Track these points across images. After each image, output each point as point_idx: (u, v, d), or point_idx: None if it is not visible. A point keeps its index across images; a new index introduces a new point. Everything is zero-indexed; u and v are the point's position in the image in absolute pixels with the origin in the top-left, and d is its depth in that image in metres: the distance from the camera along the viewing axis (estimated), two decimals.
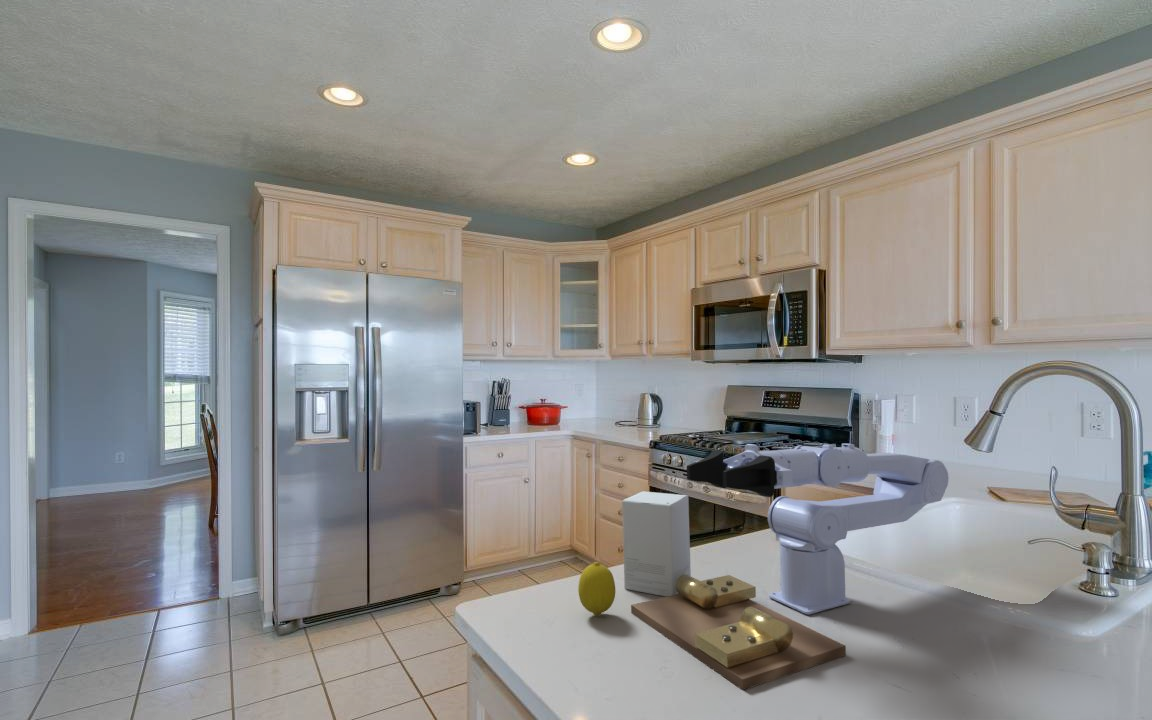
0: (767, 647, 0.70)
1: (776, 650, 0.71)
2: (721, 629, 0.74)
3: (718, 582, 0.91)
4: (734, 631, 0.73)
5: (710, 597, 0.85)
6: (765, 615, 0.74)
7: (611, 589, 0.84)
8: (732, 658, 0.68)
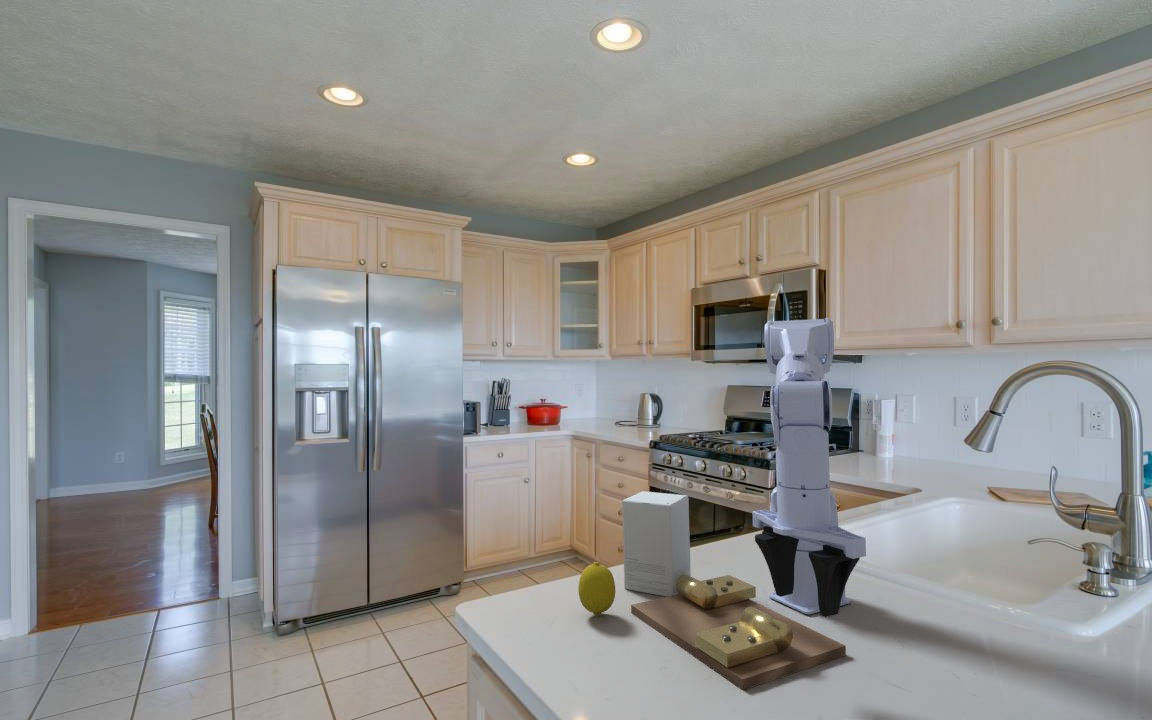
0: (767, 647, 0.70)
1: (776, 650, 0.71)
2: (721, 629, 0.74)
3: (718, 582, 0.91)
4: (734, 631, 0.73)
5: (710, 597, 0.85)
6: (765, 615, 0.74)
7: (611, 589, 0.84)
8: (732, 658, 0.68)
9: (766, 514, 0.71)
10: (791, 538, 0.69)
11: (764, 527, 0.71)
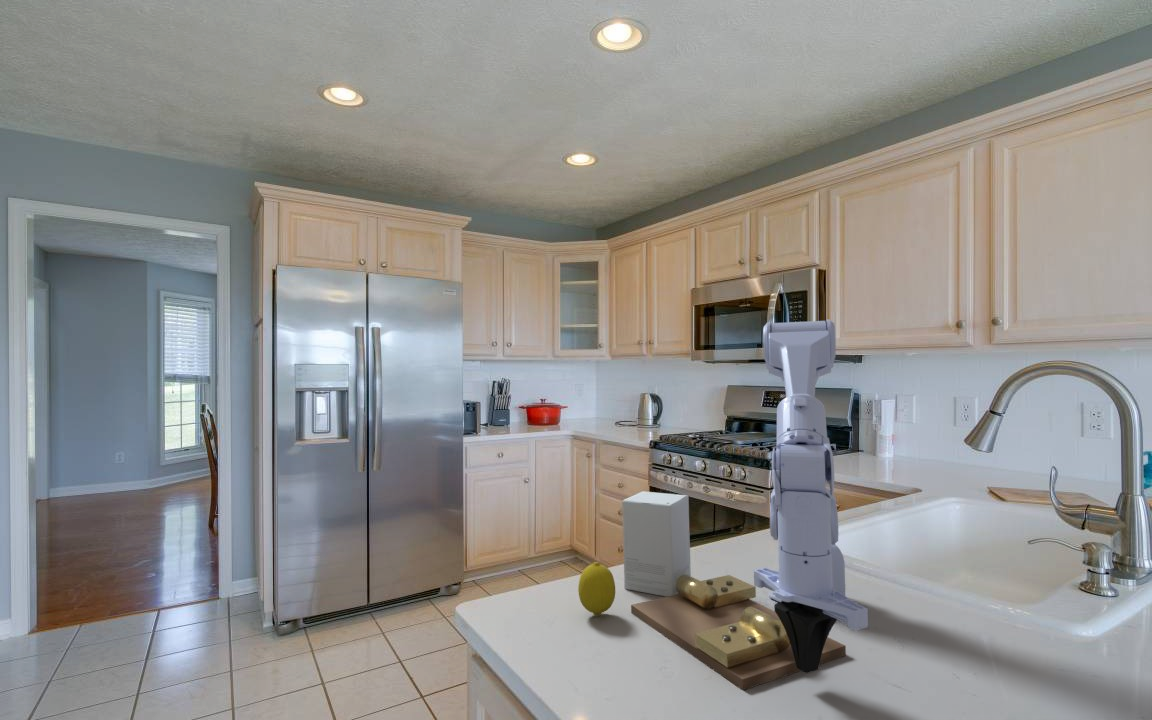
0: (767, 647, 0.70)
1: (776, 650, 0.71)
2: (721, 629, 0.74)
3: (718, 582, 0.91)
4: (734, 631, 0.73)
5: (710, 597, 0.85)
6: (765, 615, 0.74)
7: (611, 589, 0.84)
8: (732, 658, 0.68)
9: (767, 574, 0.71)
10: None
11: (766, 587, 0.70)
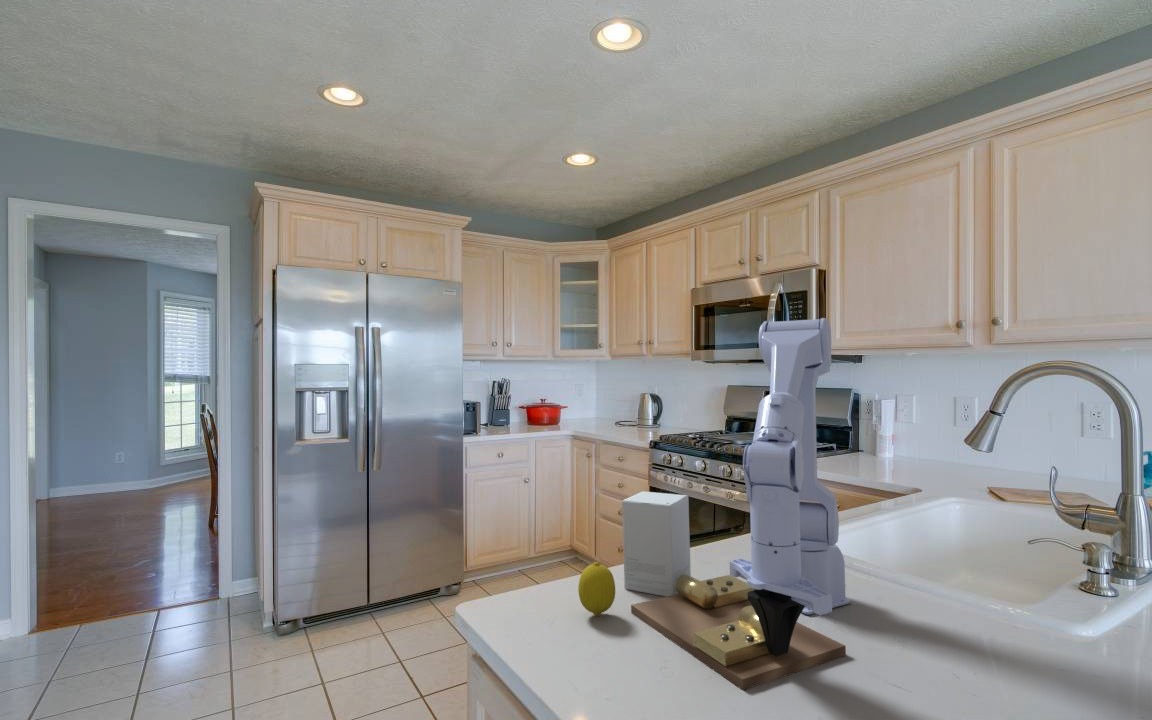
0: (765, 646, 0.71)
1: None
2: (719, 628, 0.74)
3: (718, 582, 0.91)
4: (733, 630, 0.74)
5: (710, 597, 0.85)
6: None
7: (611, 589, 0.84)
8: (730, 657, 0.68)
9: (742, 564, 0.75)
10: None
11: None
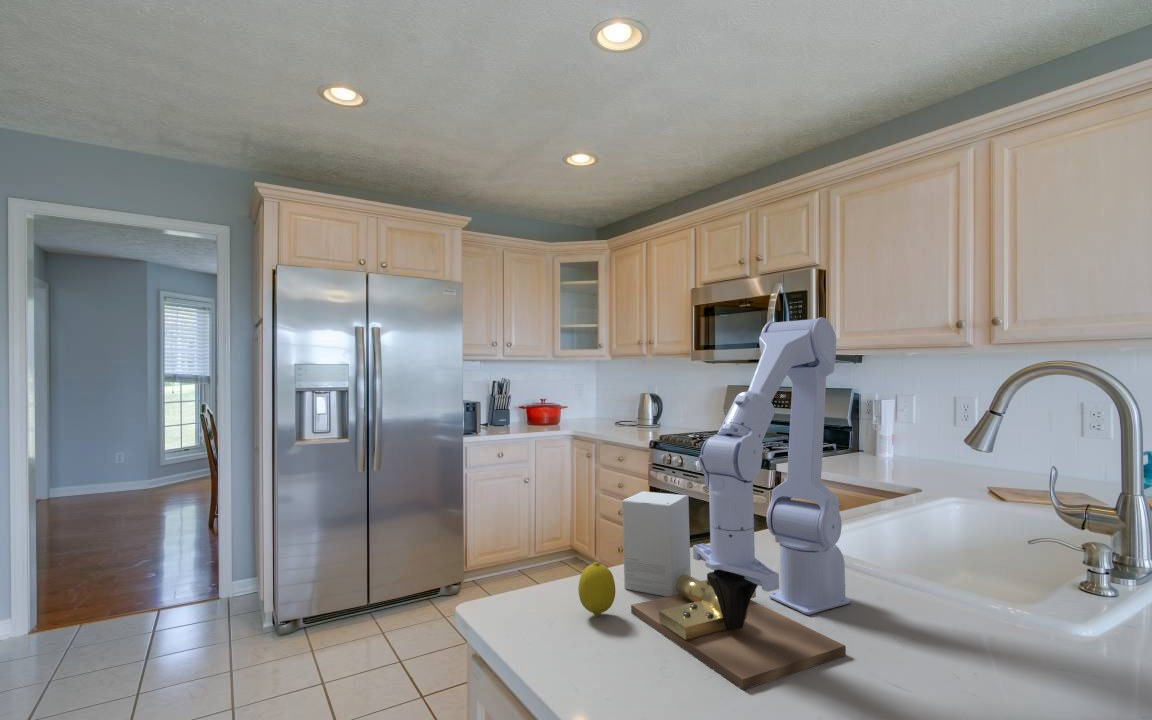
0: (723, 622, 0.78)
1: None
2: (683, 607, 0.81)
3: None
4: (695, 608, 0.81)
5: None
6: None
7: (611, 589, 0.84)
8: (690, 631, 0.75)
9: (704, 548, 0.82)
10: None
11: None
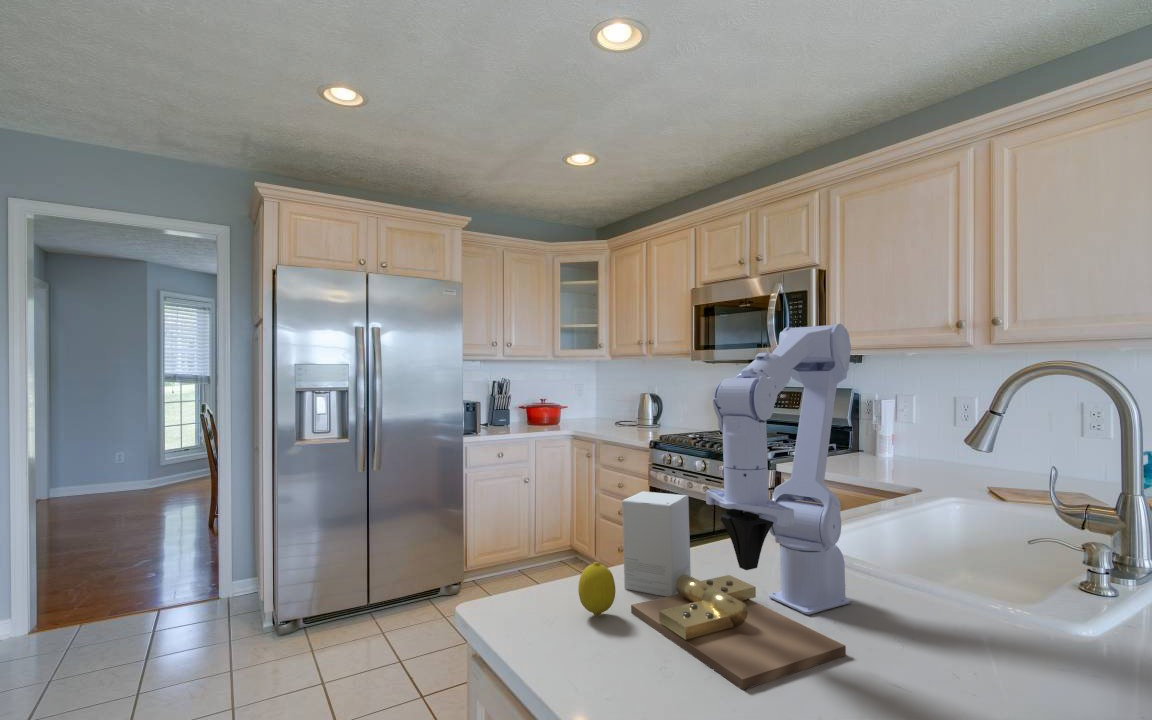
0: (723, 622, 0.78)
1: (732, 625, 0.78)
2: (683, 607, 0.81)
3: (718, 582, 0.91)
4: (695, 608, 0.81)
5: None
6: (723, 594, 0.82)
7: (611, 589, 0.84)
8: (690, 631, 0.75)
9: (717, 492, 0.82)
10: None
11: (715, 504, 0.82)
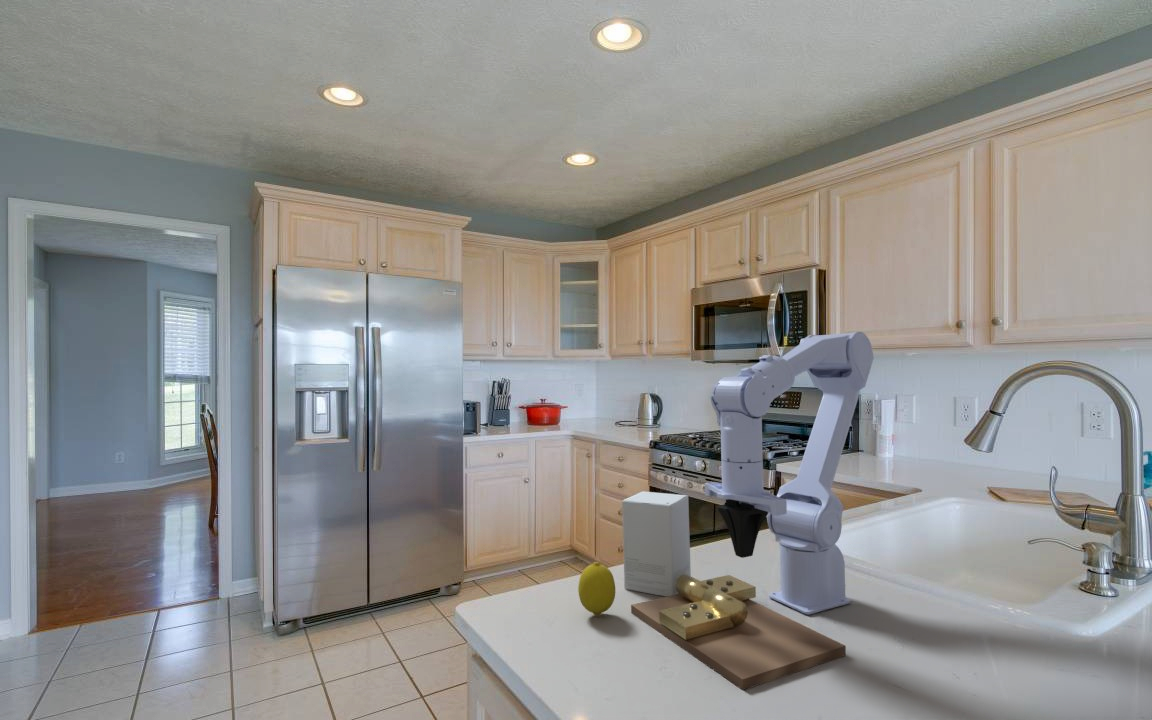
0: (723, 622, 0.78)
1: (732, 625, 0.78)
2: (683, 607, 0.81)
3: (718, 582, 0.91)
4: (695, 608, 0.81)
5: None
6: (723, 594, 0.82)
7: (611, 589, 0.84)
8: (690, 631, 0.75)
9: (715, 485, 0.87)
10: None
11: (713, 495, 0.87)
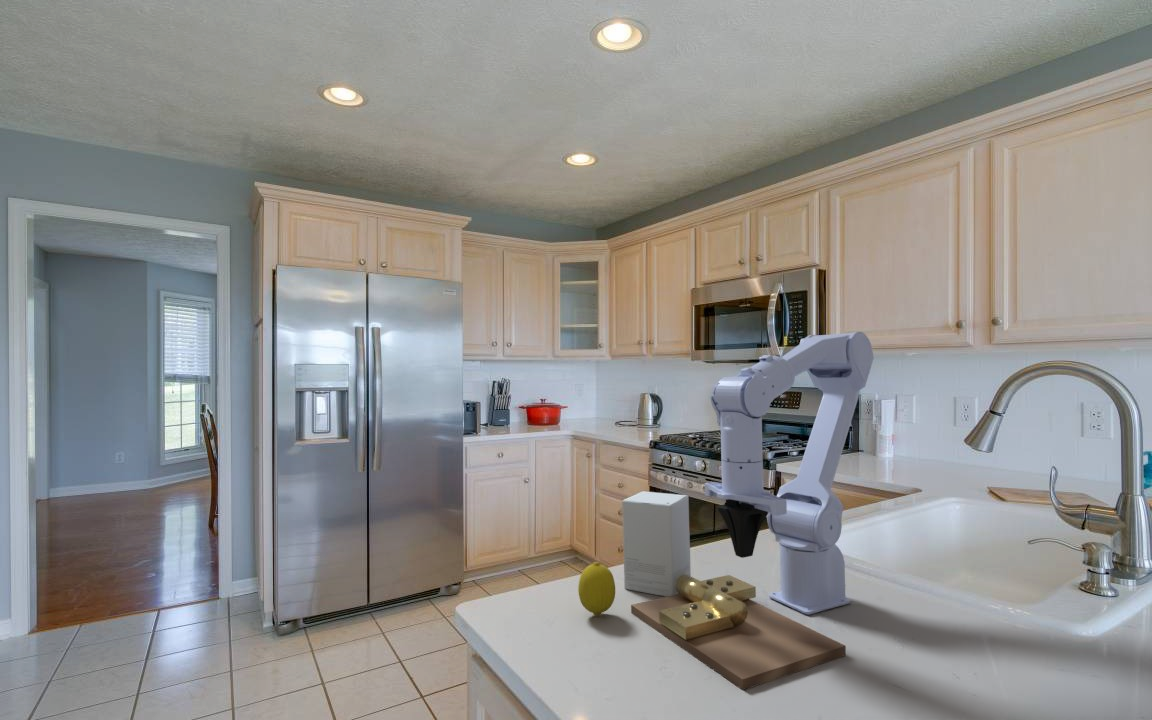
0: (723, 622, 0.78)
1: (732, 625, 0.78)
2: (683, 607, 0.81)
3: (718, 582, 0.91)
4: (695, 608, 0.81)
5: None
6: (723, 594, 0.82)
7: (611, 589, 0.84)
8: (690, 631, 0.75)
9: (715, 485, 0.87)
10: None
11: (713, 495, 0.87)
